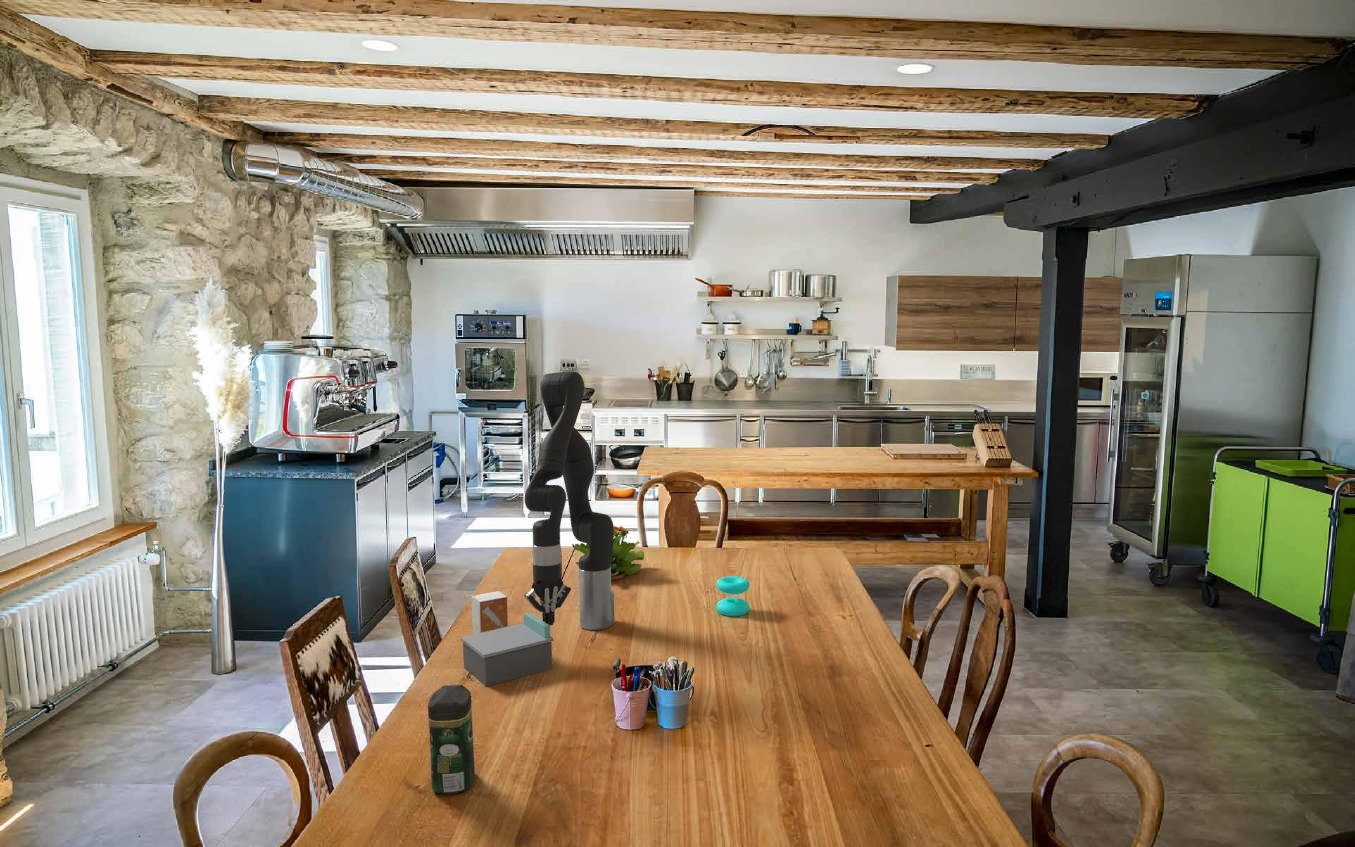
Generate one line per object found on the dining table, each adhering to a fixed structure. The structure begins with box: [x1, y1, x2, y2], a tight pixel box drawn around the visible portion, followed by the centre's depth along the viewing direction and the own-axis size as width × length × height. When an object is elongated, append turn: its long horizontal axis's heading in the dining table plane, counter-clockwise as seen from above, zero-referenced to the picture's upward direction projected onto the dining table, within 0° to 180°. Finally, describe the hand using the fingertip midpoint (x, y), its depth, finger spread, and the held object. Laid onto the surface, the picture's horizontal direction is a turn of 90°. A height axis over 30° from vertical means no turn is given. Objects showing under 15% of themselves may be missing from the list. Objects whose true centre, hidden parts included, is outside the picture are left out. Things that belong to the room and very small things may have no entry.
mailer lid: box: [460, 612, 554, 658], centre depth 223 cm, size 19×15×4 cm
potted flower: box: [571, 525, 645, 581], centre depth 300 cm, size 25×24×18 cm
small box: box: [471, 590, 509, 635], centre depth 242 cm, size 8×6×13 cm
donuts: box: [715, 575, 751, 617], centre depth 265 cm, size 10×10×10 cm
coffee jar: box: [427, 684, 476, 795], centre depth 168 cm, size 10×8×19 cm
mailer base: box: [462, 641, 553, 687], centre depth 224 cm, size 18×14×7 cm
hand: (548, 624), depth 230 cm, fingers closed
